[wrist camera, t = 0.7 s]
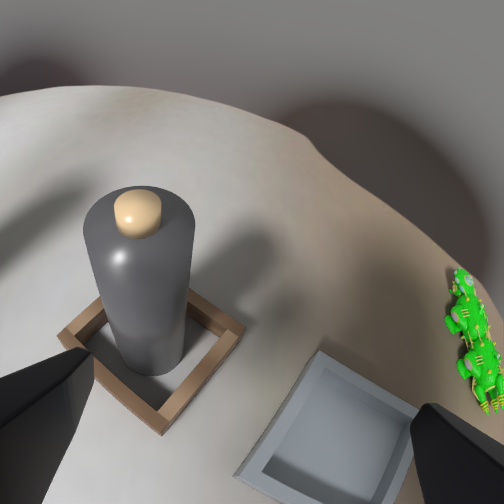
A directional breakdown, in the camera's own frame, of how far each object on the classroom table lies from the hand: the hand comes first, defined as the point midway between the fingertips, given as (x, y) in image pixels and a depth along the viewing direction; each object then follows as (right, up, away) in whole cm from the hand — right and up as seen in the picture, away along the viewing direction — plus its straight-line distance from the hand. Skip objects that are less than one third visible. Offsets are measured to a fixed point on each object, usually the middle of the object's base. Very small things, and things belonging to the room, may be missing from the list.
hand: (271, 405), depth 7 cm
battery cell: (-8, -3, +16) cm, 18 cm away
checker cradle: (-8, -3, +16) cm, 18 cm away
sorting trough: (+6, -11, +13) cm, 18 cm away
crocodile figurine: (+24, -7, +22) cm, 33 cm away
